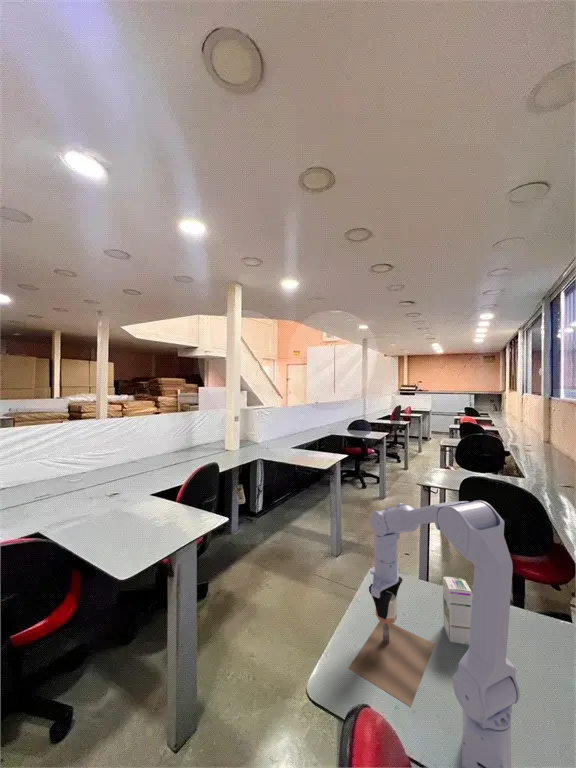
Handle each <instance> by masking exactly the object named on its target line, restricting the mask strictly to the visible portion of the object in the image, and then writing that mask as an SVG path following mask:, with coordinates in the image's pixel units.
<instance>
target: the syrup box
mask: <svg viewBox="0 0 576 768" xmlns="http://www.w3.org/2000/svg"><path fill="white" fill-rule="evenodd" d="M472 595H473V590H472V589H471V588H470V587H469V584H468V583H467V581H466V580H465V579H464V578H461V577H455V576H454V577H453V576H443V577H442V597H443V599H442V600H443V627H444V631H445V632H446V636H447V638H448V640H449V642H452V643H456V644H462V645H468V646H469V640H470V625H471V610H472Z"/></svg>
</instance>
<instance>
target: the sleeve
mask: <svg viewBox="0 0 576 768" xmlns="http://www.w3.org/2000/svg"><path fill="white" fill-rule="evenodd" d="M387 592H388V591H387ZM389 593H391V592H389ZM391 594H393V593H391ZM397 601H398V599H397V596H396V597H395V596H394V594H393V595H392V597H391V599H390V602H389V607H388V615H387V618H386V619H383V618H381V617H379V616H378V615H377V611H376V610H375V616H376V618H377V619H378V621H382V622H384V623H386V624H389V623H392V624H395V622H396V620H397V619H398V618H397V617H398V615H397V613H398V612H397V611H398V606H397V604H398V603H397Z"/></svg>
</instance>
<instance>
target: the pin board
mask: <svg viewBox="0 0 576 768" xmlns="http://www.w3.org/2000/svg"><path fill="white" fill-rule="evenodd" d="M435 646H436V645H435V643H434V642H432V641H430V640H427V639H425V638H423V637H421V636H420V635H417V634H415V633H413V632H411V631H409V630H407V629H404V628H403V627H401V626H398V625H396V624H395V623H389V624H386V623H384V622H382V621H380V620H378V623H377V625H376V626H375V628H374V629H373V631H372V632H371V634H370V635H369V636H368V638H367V640H366V641H365V643H364V644H363V646H362V647H361V649H360V650H359V652H358V653H357V655H356V656H355V658H354V660H353V661H352V662H351V664H350V665H349V667H348V669H349V670H351V671H352V672H354V673H356V674H357V675H359V676H360V677H362V678H364V679H365V680H366V681H368V682H370V683H371V684H373V685H374V686H376V687H378V688H379V689H381V690H382V691H383V692H385V693H388V695H390V696H392V697H393V698H395V699H396V700H398V701H400V702H401V703H403V704H405V705H407V706H408V707H410V708H411V707H412V705H413V702H414V699H415V697H416V694H417V692H418V690H419V687H420V684H421V682H422V679H423V676H424V674H425V671H426V669H427V666H428V663H429V660H430V658H431V655H432V653H433V650H434V647H435Z"/></svg>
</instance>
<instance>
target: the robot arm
mask: <svg viewBox="0 0 576 768" xmlns="http://www.w3.org/2000/svg"><path fill="white" fill-rule="evenodd" d="M395 505H396V507H392V506H388V507H385V509H383V510H375V511H373V512H372V513H370V515H369V525H370V528H371V530H372V532H373V534H374V567H372V568H371V569H370V571H369V572H370V574H371V575H373V577H372V583H370V585H369V586H368V592H369V594H370V596H371V597H372V600H373V603H374V606H375V612H376V611H377V615H378V616H379V617H381V618H383V619H386V618H387V615H388V607H389V602H390V599H391V597H392V595H393V594H394V596H395V597H396V598H397V596H398V591H399V588H400V586H401V584H402V583H403V578H402V577H401V576H400V575H399V572H400V563H399V562H398V561H399V558H398V556H399V553H398V552H399V551H398V541H399V540H400V535H401V534H402V533H409V532H410V533H411V532H415V531H417V530H418V529H419V528H420V525H423V524H424V525H425V524H426V525H427V524H434V526H435V527H436V530H437V531H441V532H442V534H443V536H444V537H445V538H446V539H447V540H448V541H449V543H451V544H452V546H453V547H454V548H455V549H456V550H457V551H458V552H459V553H460V554H461V555H462V556H463V558H464V559H465V560H467V561H468V562H471V563H472V564H473V584H472V610H471V625H470V640H469V645H468V649H467V651H466V652H465V654H463V656H462V657H461V659H460V661H459V662H458V667H457V672H456V673H455V674H453V676H452V688H453V692H454V694H455V698H456V700H457V702H458V703H459V706H460V707H461V709H462V735H461V736H462V737H461V768H512V718H511V717H512V715H511V714H512V713H513V705H514V704H515V705H516V704H517V703H519V702H520V698H521V692H520V688H519V684H518V682H517V681H518V680H517V678H516V673H517V672H516V671H517V669H516V667H515V666H514V665H513V663H512V662H511V661H510V660H509V659H508V658H507V652H508V651H507V650H508V639H509V638H508V637H509V636H508V635H509V626H510V625H509V623H510V610H511V609H510V608H511V596H512V585H513V584H512V580H513V572H514V571H513V570H514V569H513V566H514V565H513V560H512V557H511V554H510V551H509V548H508V544H507V541H506V539H505V535H504V534H505V520H504V519H503V518H502V517H501V515H500V514H499V513H498V512H497V511H496V509H495V508H494V507H493V506H492V505H491V504H490V503H488V502H487V501H484V500H480V499H479V500H473V501H468V500H462V501H461V500H460V501H459V500H458V501H446V502H445V501H444V502H441V503H434V504H431V505H427V506H423V507H419V508H414V507H413V506H411V505H409V504H406V505H405V503H397V504H395ZM387 591H388V592H387ZM389 592H391V593H393V594H391V593H389Z"/></svg>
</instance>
